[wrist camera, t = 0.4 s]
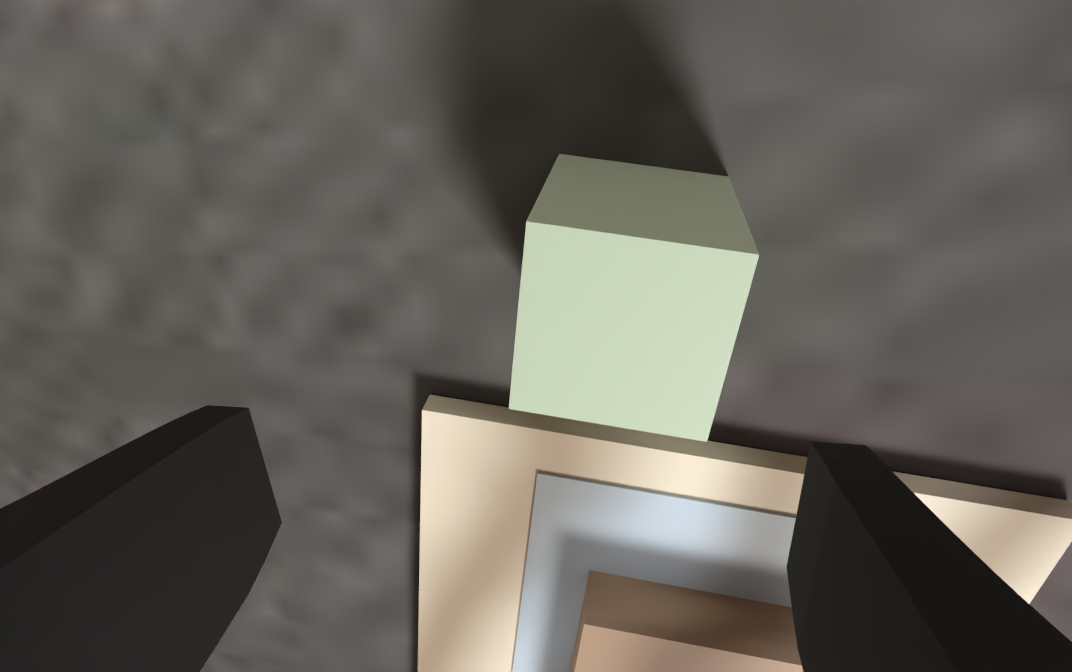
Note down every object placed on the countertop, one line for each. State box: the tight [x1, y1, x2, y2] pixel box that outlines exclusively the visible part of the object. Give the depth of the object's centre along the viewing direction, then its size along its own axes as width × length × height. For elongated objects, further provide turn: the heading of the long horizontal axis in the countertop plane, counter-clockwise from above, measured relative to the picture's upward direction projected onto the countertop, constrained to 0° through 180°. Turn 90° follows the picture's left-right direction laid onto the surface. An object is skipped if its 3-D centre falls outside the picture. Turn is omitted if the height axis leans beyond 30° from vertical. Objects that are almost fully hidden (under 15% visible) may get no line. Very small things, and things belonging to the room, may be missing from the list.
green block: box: [509, 154, 759, 442], centre depth 15 cm, size 4×4×5 cm
